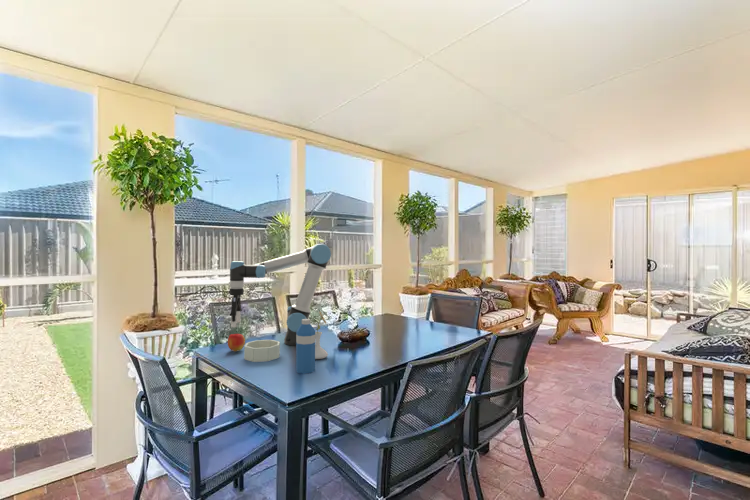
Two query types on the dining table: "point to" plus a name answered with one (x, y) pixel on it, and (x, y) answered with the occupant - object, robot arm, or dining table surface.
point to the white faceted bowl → (262, 350)
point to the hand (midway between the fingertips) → (235, 324)
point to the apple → (236, 342)
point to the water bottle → (305, 348)
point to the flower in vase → (319, 351)
